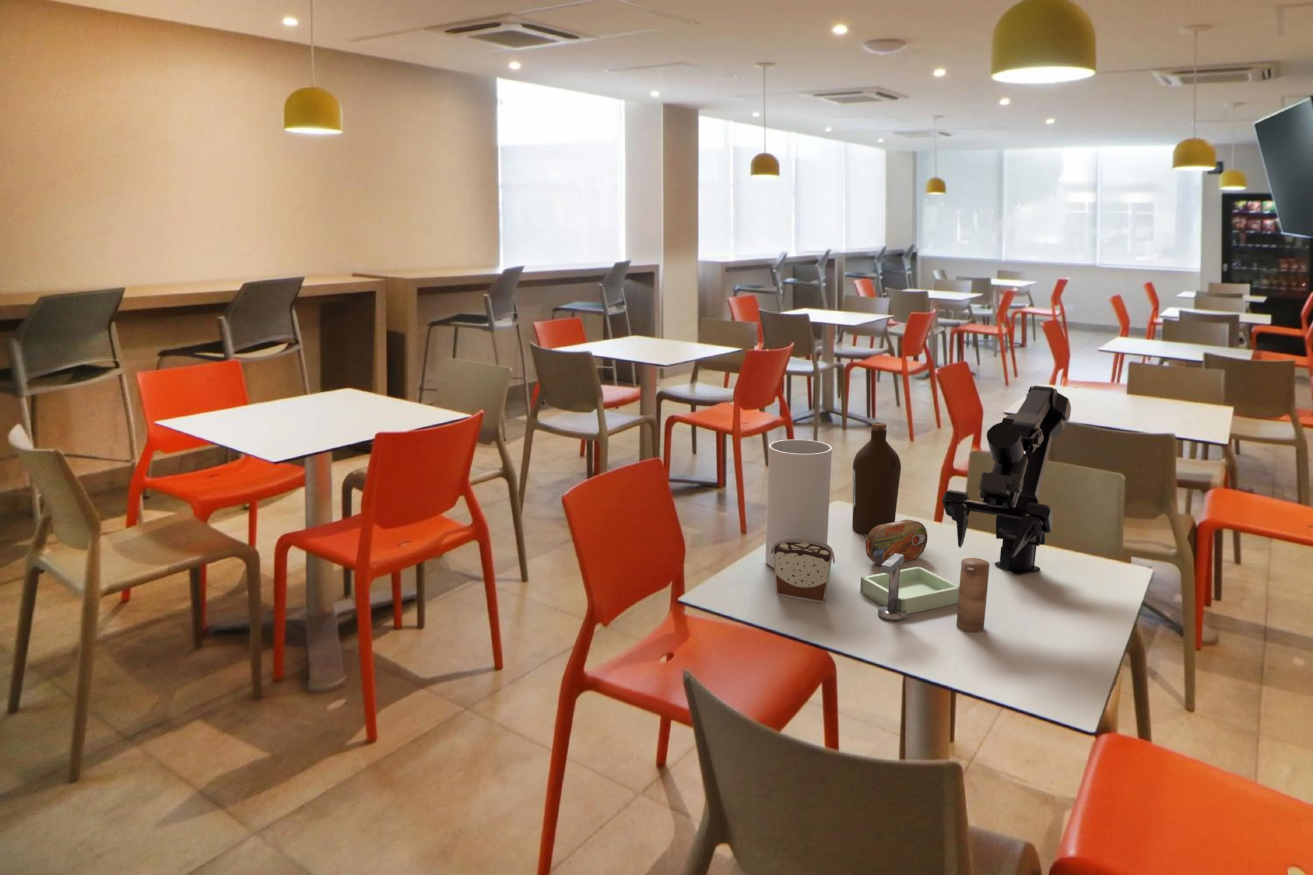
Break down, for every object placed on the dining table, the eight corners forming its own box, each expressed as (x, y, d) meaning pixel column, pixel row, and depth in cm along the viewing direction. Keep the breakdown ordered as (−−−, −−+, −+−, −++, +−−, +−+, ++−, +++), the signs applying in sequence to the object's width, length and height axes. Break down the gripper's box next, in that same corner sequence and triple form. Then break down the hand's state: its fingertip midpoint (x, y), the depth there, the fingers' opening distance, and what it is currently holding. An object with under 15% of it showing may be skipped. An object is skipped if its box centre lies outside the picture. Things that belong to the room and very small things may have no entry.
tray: (918, 580, 188) (919, 566, 187) (960, 602, 177) (961, 587, 176) (860, 591, 182) (861, 577, 181) (900, 615, 171) (901, 599, 171)
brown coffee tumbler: (960, 619, 170) (965, 556, 167) (986, 625, 167) (992, 561, 165) (951, 630, 165) (956, 565, 162) (977, 637, 163) (983, 571, 160)
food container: (840, 592, 182) (842, 543, 179) (832, 604, 176) (834, 553, 174) (778, 582, 187) (780, 533, 184) (768, 593, 181) (770, 543, 179)
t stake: (883, 607, 175) (887, 550, 172) (910, 614, 172) (914, 555, 169) (868, 622, 168) (872, 562, 166) (895, 628, 166) (899, 568, 163)
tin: (871, 569, 194) (874, 529, 192) (861, 564, 197) (863, 525, 195) (927, 557, 201) (930, 519, 199) (916, 552, 203) (919, 515, 201)
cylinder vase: (836, 571, 193) (842, 451, 187) (780, 577, 189) (784, 456, 183) (810, 550, 204) (814, 437, 198) (756, 556, 201) (759, 441, 195)
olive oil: (901, 526, 220) (908, 421, 214) (890, 540, 211) (897, 431, 205) (856, 520, 225) (862, 417, 219) (843, 533, 215) (849, 425, 210)
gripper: (948, 447, 175) (925, 519, 168) (1056, 461, 165) (1036, 539, 158) (958, 479, 183) (936, 549, 176) (1060, 494, 173) (1041, 569, 166)
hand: (985, 551), depth 169 cm, fingers open, 9 cm apart
